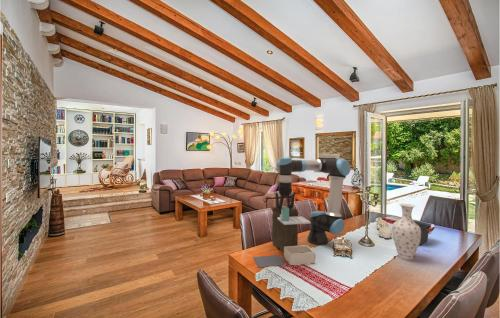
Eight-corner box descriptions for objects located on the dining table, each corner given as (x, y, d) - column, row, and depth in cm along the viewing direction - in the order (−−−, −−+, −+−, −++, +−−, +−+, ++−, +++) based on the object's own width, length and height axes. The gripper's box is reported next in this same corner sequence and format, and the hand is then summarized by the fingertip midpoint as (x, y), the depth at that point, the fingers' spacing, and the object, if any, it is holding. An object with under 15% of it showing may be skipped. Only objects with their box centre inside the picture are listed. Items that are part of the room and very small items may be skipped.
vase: (395, 250, 171) (396, 201, 170) (422, 257, 159) (424, 205, 158) (388, 257, 160) (389, 204, 158) (417, 265, 148) (419, 209, 147)
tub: (306, 255, 162) (306, 244, 161) (315, 263, 150) (315, 252, 150) (283, 257, 159) (284, 246, 158) (290, 265, 147) (290, 254, 147)
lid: (301, 217, 161) (301, 204, 161) (310, 223, 148) (310, 208, 148) (277, 218, 157) (277, 205, 157) (284, 224, 145) (284, 209, 144)
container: (298, 253, 165) (299, 209, 164) (286, 255, 161) (286, 211, 160) (282, 241, 186) (282, 202, 185) (270, 243, 182) (271, 203, 181)
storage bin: (413, 236, 199) (413, 219, 198) (435, 242, 186) (436, 224, 185) (400, 242, 187) (401, 223, 186) (423, 248, 174) (424, 229, 174)
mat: (279, 255, 161) (279, 254, 161) (286, 265, 147) (286, 264, 147) (253, 257, 157) (253, 257, 157) (258, 267, 144) (258, 267, 144)
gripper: (295, 180, 156) (294, 216, 157) (270, 181, 153) (270, 217, 153) (300, 182, 149) (299, 220, 150) (274, 182, 145) (273, 221, 146)
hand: (284, 218), depth 152 cm, fingers closed on lid, 3 cm apart
